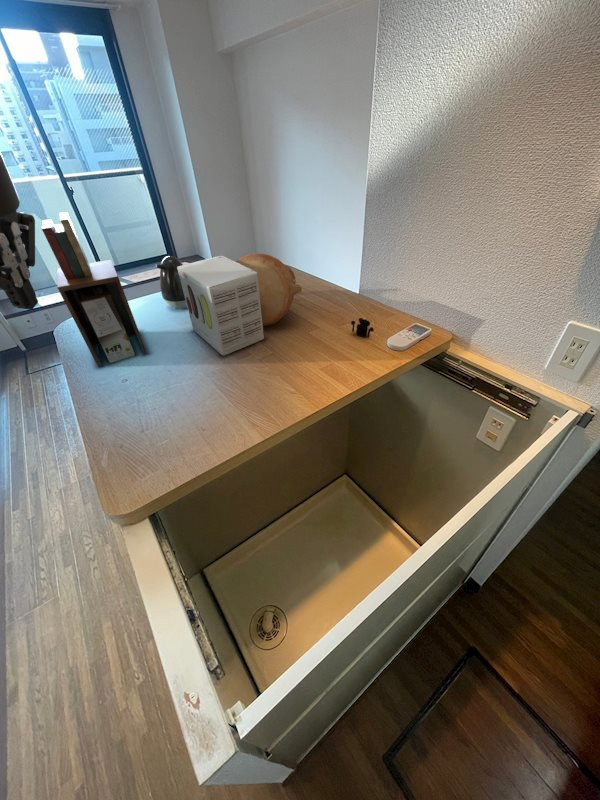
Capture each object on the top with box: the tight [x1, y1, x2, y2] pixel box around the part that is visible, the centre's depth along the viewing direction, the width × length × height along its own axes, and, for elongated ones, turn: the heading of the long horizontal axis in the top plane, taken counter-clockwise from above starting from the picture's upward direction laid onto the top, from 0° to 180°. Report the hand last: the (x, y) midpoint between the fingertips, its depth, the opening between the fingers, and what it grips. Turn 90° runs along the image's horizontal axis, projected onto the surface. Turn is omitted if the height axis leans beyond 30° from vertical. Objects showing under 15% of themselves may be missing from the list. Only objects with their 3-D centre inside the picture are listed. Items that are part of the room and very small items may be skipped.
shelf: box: [41, 211, 148, 368], centre depth 76 cm, size 12×13×31 cm
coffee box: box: [76, 284, 135, 364], centre depth 80 cm, size 9×6×16 cm
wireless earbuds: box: [350, 317, 375, 339], centre depth 88 cm, size 7×2×5 cm, turn 50°
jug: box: [235, 252, 303, 327], centre depth 96 cm, size 20×19×30 cm
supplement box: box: [177, 255, 265, 356], centre depth 84 cm, size 17×13×18 cm
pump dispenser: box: [155, 255, 188, 310], centre depth 100 cm, size 10×10×15 cm
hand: (27, 305), depth 43 cm, fingers closed
